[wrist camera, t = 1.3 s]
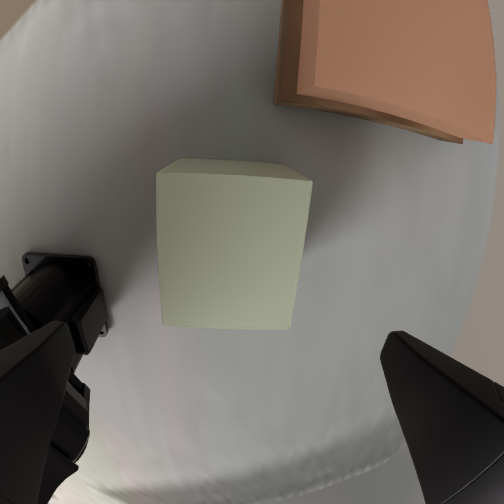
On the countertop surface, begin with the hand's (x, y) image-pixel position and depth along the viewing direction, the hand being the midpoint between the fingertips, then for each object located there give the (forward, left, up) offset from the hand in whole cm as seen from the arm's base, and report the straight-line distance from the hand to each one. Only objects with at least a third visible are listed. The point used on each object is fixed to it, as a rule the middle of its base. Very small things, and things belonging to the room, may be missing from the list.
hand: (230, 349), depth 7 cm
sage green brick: (0, 0, -11) cm, 11 cm away
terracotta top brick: (+8, +13, -9) cm, 18 cm away
